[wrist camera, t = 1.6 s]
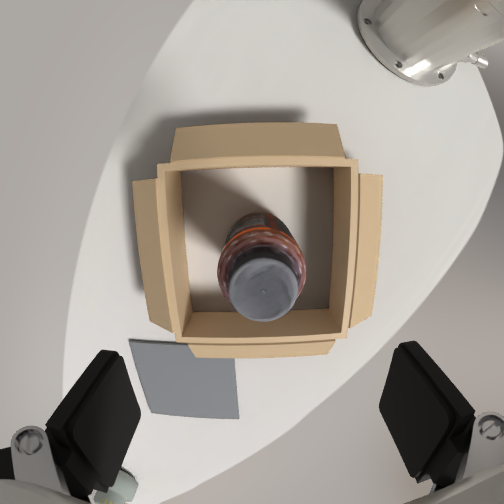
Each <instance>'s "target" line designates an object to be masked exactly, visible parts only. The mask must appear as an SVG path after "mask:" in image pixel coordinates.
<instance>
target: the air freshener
mask: <svg viewBox="0 0 504 504" xmlns="http://www.w3.org/2000/svg"><path fill="white" fill-rule="evenodd" d="M137 487H138V482H137V481H136V480H135V479H134V478H133V477H131V476H130V475H129V474H127V473H126V472H124V471H122V470H120V471H119V473H118V476H117V478H116V481H115V484H114V485H113V487H109V489H108V491H107V493H104V492H101V491H98V490H97V492H96V494H95V497H94V499H93V500H94V502H95V504H125V502H131V501H132V500H133V498H134V495H135V493H136V490H137Z"/></svg>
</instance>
